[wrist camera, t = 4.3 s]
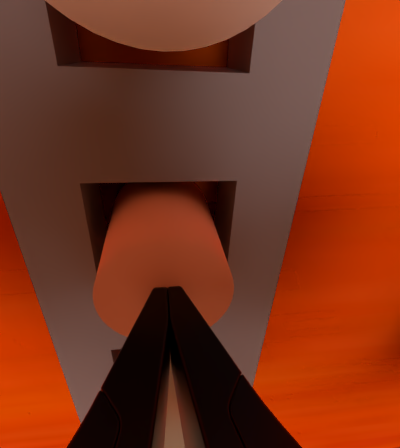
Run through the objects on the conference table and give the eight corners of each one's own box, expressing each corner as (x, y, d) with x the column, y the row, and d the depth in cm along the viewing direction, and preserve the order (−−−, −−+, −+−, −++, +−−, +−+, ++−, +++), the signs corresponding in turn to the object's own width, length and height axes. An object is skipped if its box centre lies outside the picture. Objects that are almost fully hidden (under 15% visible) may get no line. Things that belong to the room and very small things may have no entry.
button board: (236, 360, 21) (248, 404, 18) (90, 375, 19) (81, 425, 17) (336, -210, 8) (425, -335, 5) (-85, -288, 6) (-243, -511, 4)
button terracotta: (226, 213, 13) (260, 290, 9) (163, 267, 14) (167, 357, 10) (159, 149, 11) (163, 210, 7) (92, 217, 12) (62, 304, 8)
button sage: (221, 366, 16) (245, 481, 12) (167, 401, 17) (172, 518, 13) (165, 336, 14) (171, 461, 10) (109, 378, 15) (93, 506, 11)
